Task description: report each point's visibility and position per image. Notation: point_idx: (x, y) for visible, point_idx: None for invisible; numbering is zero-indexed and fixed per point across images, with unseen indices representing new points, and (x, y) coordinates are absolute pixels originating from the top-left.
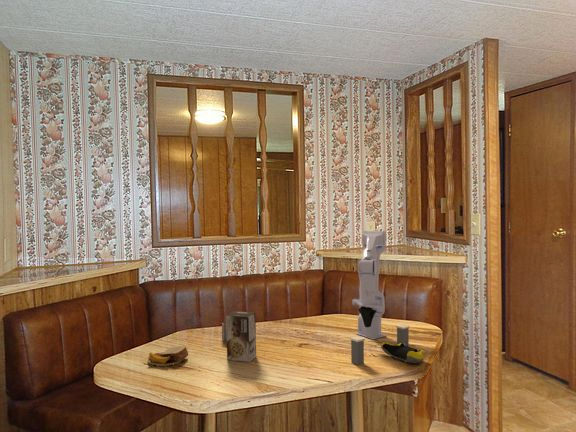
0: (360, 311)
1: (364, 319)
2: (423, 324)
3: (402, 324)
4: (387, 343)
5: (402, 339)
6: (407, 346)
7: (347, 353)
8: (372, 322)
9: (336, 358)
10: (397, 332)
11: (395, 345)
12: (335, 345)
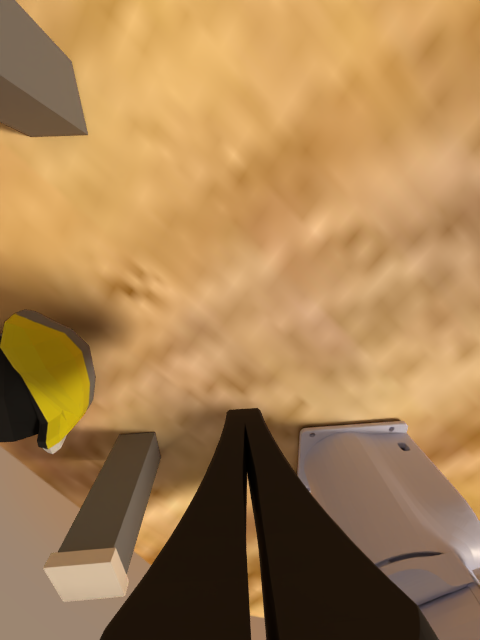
0: (345, 591)
1: (255, 465)
2: None
3: (116, 594)
4: (11, 363)
5: (101, 480)
6: (1, 438)
7: (231, 182)
8: (350, 518)
9: (197, 28)
10: (122, 511)
11: (37, 402)
12: (379, 224)
